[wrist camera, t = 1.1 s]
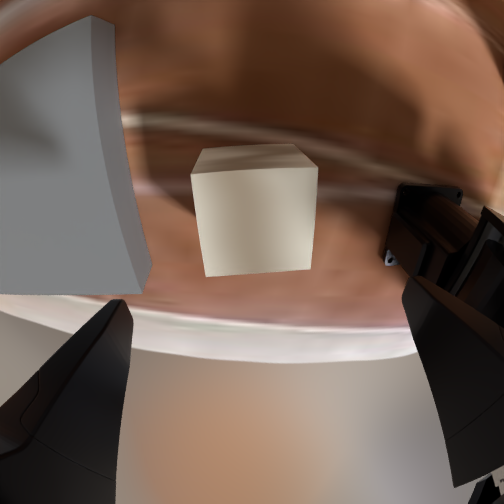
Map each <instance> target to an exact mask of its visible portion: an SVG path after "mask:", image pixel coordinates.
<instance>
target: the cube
mask: <svg viewBox="0 0 504 504" xmlns="http://www.w3.org/2000/svg"><path fill="white" fill-rule="evenodd" d="M317 181H318V167H317V166H316V165H315V164H314V163H313V162H312V161H311V160H310V159H309V158H308V157H307V156H306V155H305V154H303V153H302V152H301V151H300V150H299V149H298V148H297V147H296V146H295V145H294V144H260V145H241V146H226V147H214V148H203V149H202V151H201V153H200V155H199V158H198V160H197V162H196V164H195V166H194V168H193V170H192V172H191V182H192V190H193V197H194V204H195V211H196V218H197V225H198V231H199V238H200V244H201V250H202V256H203V262H204V268H205V274H206V277H211V276H226V275H240V274H254V273H268V272H281V271H293V270H305V269H310V268H311V258H312V248H313V237H314V225H315V212H316V198H317Z"/></svg>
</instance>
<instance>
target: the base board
mask: <svg viewBox="0 0 504 504" xmlns="http://www.w3.org/2000/svg"><path fill="white" fill-rule="evenodd" d="M151 267H152V262H151V259H150V255H149V251H148V248H147V244H146V240H145V237H144V233H143V229H142V225H141V221H140V216H139V212H138V208H137V204H136V199H135V195H134V190H133V185H132V180H131V175H130V170H129V164H128V159H127V153H126V147H125V141H124V134H123V127H122V120H121V112H120V104H119V94H118V84H117V71H116V54H115V25H114V24H111V23H109V22H107V21H105V20H102V19H100V18H97V17H95V16H93V15H90V16H88V17H85V18H83V19H80V20H78V21H76V22H74V23H71V24H69V25H67V26H65V27H63V28H61V29H59V30H57V31H55V32H53V33H51V34H49V35H47V36H45V37H43V38H41V39H40V40H38V41H36V42H34V43H33V44H31V45H29V46H28V47H26V48H24V49H23V50H21V51H20V52H18V53H16V54H15V55H13V56H12V57H10V58H9V59H7V60H6V61H5V62H3V63H2V64H0V294H13V295H113V294H142V293H143V290H144V287H145V284H146V281H147V278H148V275H149V273H150V270H151Z"/></svg>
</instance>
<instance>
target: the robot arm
mask: <svg viewBox="0 0 504 504" xmlns="http://www.w3.org/2000/svg"><path fill="white" fill-rule="evenodd" d="M405 189H406V192H405V193H403V191H404V190H405ZM462 196H463V191H462V189H460V188H459V187H454V186H443V185H430V184H414V183H402V184H401V185H400V186H399V187H398V190H397V195H396V201H395V206H394V211H393V215H392V218H391V223H390V227H389V232H388V236H387V241H386V247H385V251H384V255H383V262H384V263H385V265H387V266H392V265H401V266H402V267H403V268H404V270H405V271H406V272H407V274H408V275H409V277H410V278H409V279H408V281H407V283H406V286H405V289H404V291H403V294H402V304H403V307H404V310H405V313H406V316H407V320H408V323H409V326H410V330H411V333H412V336H413V340H414V343H415V345H416V348H417V351H418V353H419V356H420V359H421V361H422V364H423V367H424V370H425V373H426V375H427V379H428V382H429V385H430V388H431V391H432V394H433V398H434V401H435V404H436V408H437V411H438V414H439V419H440V422H441V426H442V430H443V434H444V438H445V444H446V448H447V453H448V458H449V463H450V469H451V474H452V481H453V486H454V488H456V487H458V486H461V485H464V484H466V483H468V482H471V481H473V480H475V479H477V478H480V477H482V476H484V475H486V474H488V473H490V472H491V473H490V474H488V475H487V476H486V477H485V478H483V479H482V480H480V481H479V482H477V483H476V486H475V488H474V491H473V493H472V496H471V498H470V500H469V502H468V504H504V216H503V215H501V214H499V213H497V212H495V211H494V210H492V209H490V208H488V207H486V206H484V207H483V209H482V212H481V217H480V220H479V221H478V220H476V219H475V218H474V217H473V216H471V215H470V214H469V213H468V212H466V211H465V210H464V209H462V208H461V207H460V204H461V200H462ZM389 258H390V259H389ZM388 259H389V260H388ZM132 334H133V318H132V315H131V313H130V311H129V309H128V306H127V304H126V302H125V301H124V300H122V299H113V300H111V301H109V302H108V303H107V304H106V305H105V306H104V307H103V308H102V309H101V310H99V311H98V312H97V313H96V314H95V315H94V316H93V317H92V318H91V319H90V320H89V321H88V322H86V323H85V324H84V325H83V326H82V327H81V328H80V329H79V330H78V331H77V332H76V333H75V334H74V335H73V336H72V337H71V338H70V339H69V340H68V341H67V342H66V343H65V344H63V346H61V347H60V348H59V349H58V350H57V351H56V352H55V354H53V355H52V356H51V357H50V358H49V360H47V361H46V362H45V363H44V365H42V366H41V367H40V369H39V370H38V371H37V372H36V373H35V374H34V375H33V376H32V377H31V378H30V379H29V380H28V381H27V382H26V383H25V384H24V385H23V386H22V387H21V388H20V389H19V390H18V391H17V392H16V393H15V394H14V395H13V396H12V397H10V398H9V399H8V400H7V401H6V402H5V403H4V404H3V405H2V406H1V407H0V504H115V496H116V481H115V480H116V470H117V455H118V445H119V435H120V426H121V418H122V410H123V404H124V397H125V391H126V385H127V378H128V373H129V367H130V356H131V344H132Z"/></svg>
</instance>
